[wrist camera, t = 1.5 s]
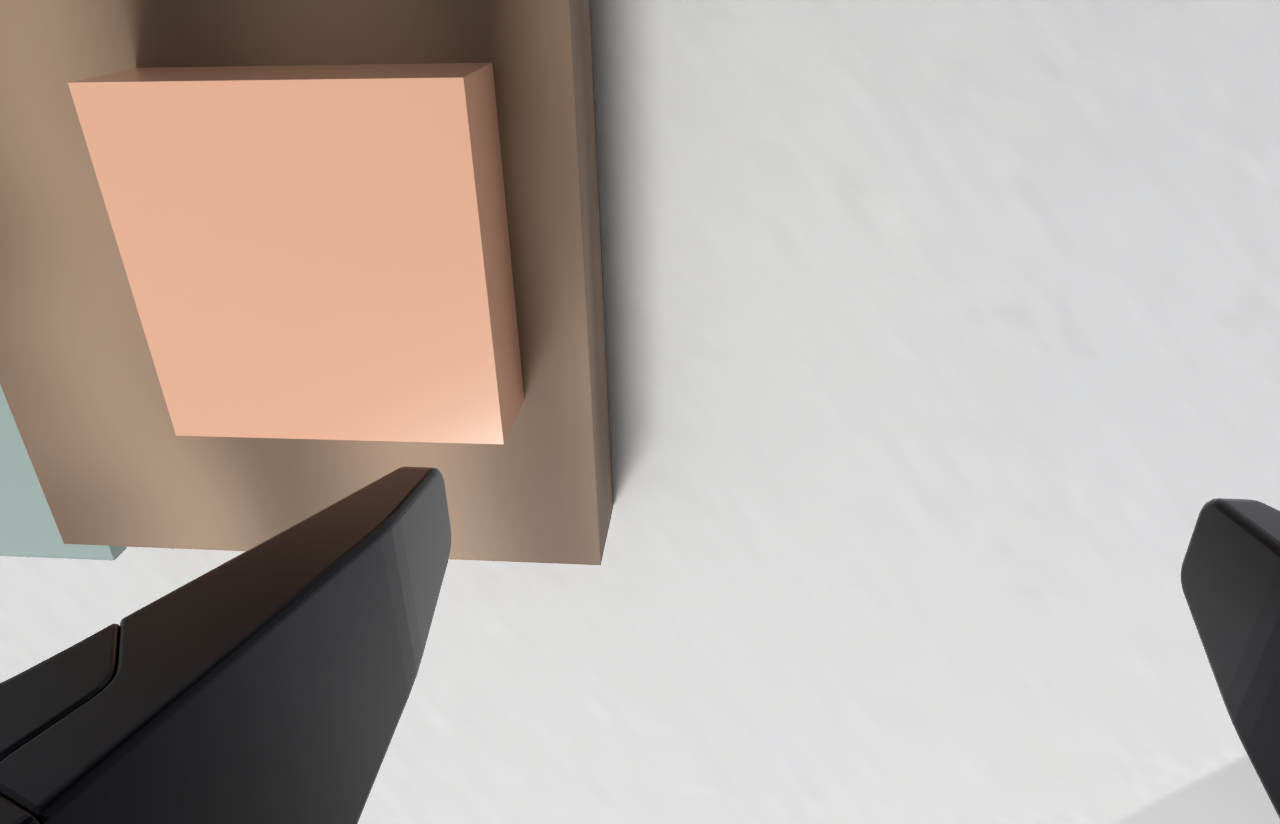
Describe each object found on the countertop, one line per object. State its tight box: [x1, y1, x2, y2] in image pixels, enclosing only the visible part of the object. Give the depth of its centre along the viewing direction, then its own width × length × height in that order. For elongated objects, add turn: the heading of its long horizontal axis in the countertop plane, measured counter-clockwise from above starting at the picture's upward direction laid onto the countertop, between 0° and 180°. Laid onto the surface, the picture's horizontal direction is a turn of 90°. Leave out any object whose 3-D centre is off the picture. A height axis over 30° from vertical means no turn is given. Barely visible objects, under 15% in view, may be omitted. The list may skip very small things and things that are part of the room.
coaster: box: [68, 63, 524, 444], centre depth 18 cm, size 7×7×2 cm
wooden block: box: [0, 0, 613, 565], centre depth 20 cm, size 14×16×2 cm
